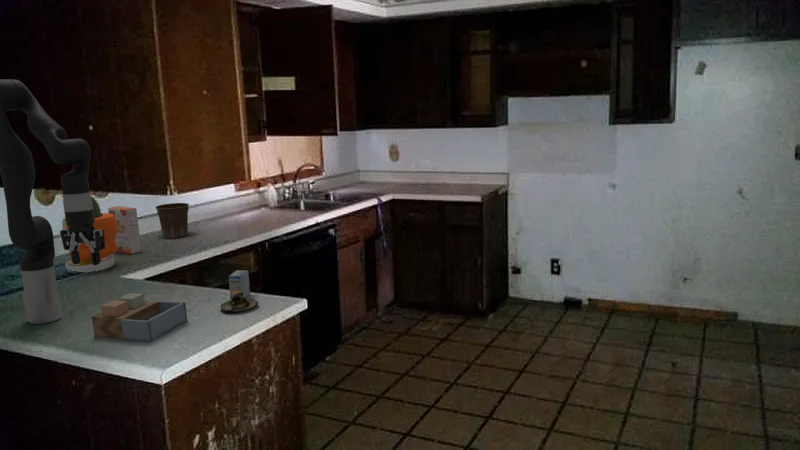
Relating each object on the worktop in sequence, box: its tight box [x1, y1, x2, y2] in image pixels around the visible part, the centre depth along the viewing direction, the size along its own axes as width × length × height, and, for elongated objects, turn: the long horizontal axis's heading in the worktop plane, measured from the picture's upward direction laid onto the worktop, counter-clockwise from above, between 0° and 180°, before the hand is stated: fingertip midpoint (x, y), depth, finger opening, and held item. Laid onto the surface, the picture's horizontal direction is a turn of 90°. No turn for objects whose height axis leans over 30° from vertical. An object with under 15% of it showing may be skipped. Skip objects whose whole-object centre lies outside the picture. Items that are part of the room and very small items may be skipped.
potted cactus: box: [60, 192, 117, 273], centre depth 273 cm, size 22×22×35 cm
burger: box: [220, 289, 259, 315], centre depth 212 cm, size 12×12×8 cm
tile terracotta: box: [100, 300, 128, 317], centre depth 193 cm, size 5×5×3 cm
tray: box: [121, 300, 188, 343], centre depth 195 cm, size 9×18×6 cm, turn 163°
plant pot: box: [155, 202, 190, 240], centre depth 334 cm, size 16×16×16 cm
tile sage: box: [118, 292, 146, 308], centre depth 200 cm, size 5×5×3 cm
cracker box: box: [107, 205, 143, 255], centre depth 302 cm, size 14×6×21 cm, turn 55°
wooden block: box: [91, 300, 160, 339], centre depth 198 cm, size 11×16×6 cm
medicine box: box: [228, 269, 251, 299], centre depth 224 cm, size 8×4×9 cm, turn 175°
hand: (86, 264), depth 193 cm, fingers open, 6 cm apart
